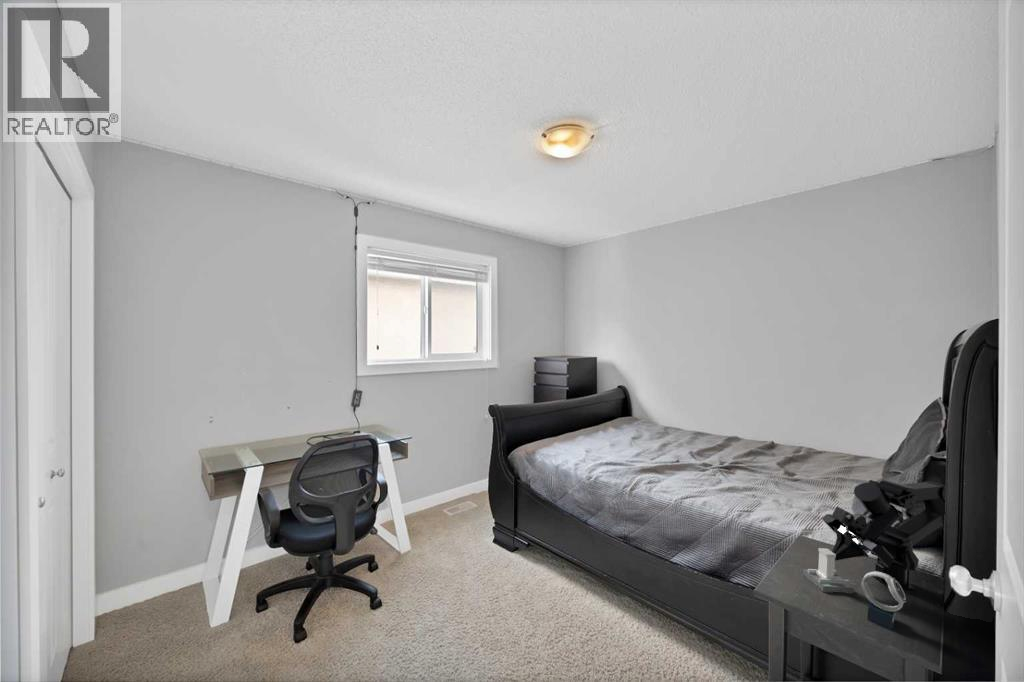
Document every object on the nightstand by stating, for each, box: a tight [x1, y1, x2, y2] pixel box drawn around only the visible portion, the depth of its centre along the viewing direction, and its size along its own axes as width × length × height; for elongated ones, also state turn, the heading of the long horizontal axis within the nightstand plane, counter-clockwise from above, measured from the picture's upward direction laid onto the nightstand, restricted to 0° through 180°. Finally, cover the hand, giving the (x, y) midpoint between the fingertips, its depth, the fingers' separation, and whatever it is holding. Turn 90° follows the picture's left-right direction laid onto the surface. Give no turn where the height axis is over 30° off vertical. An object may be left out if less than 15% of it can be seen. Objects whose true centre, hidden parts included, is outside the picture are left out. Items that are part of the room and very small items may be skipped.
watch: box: [861, 570, 907, 631], centre depth 100 cm, size 6×8×11 cm
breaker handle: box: [816, 547, 836, 579], centre depth 115 cm, size 3×3×7 cm
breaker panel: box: [802, 568, 855, 594], centre depth 115 cm, size 8×8×2 cm
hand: (832, 558), depth 114 cm, fingers closed, pressing on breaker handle
